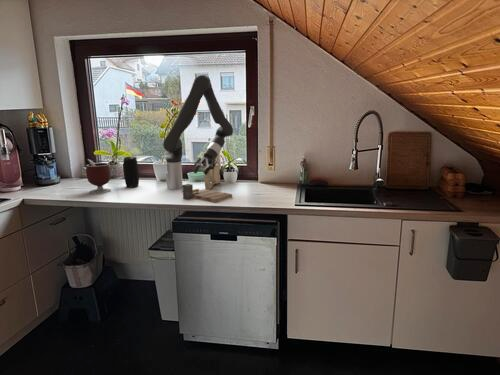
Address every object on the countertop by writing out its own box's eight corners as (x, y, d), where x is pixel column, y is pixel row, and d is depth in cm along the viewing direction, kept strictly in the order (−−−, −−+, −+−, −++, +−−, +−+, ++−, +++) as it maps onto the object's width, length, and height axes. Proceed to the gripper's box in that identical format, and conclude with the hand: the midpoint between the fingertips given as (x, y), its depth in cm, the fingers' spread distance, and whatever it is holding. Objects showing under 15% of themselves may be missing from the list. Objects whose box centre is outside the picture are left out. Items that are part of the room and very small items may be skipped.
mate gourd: (117, 190, 226) (114, 159, 222) (98, 195, 214) (95, 162, 210) (100, 188, 233) (97, 157, 229) (81, 192, 222) (77, 160, 217)
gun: (209, 190, 224) (209, 166, 222) (204, 189, 225) (203, 166, 223) (220, 185, 248) (220, 163, 246) (215, 185, 249) (215, 163, 247)
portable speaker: (125, 185, 240) (123, 156, 236) (140, 184, 242) (138, 156, 238) (124, 188, 232) (121, 158, 228) (139, 187, 234) (137, 157, 230)
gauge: (183, 198, 203) (182, 184, 202) (196, 195, 211) (195, 182, 209) (187, 199, 201) (187, 185, 199) (200, 196, 208) (200, 182, 207)
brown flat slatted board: (187, 196, 207) (187, 193, 207) (205, 192, 218) (205, 189, 217) (215, 202, 194) (215, 199, 193) (232, 197, 204) (232, 194, 204)
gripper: (200, 147, 216) (187, 168, 210) (218, 148, 207) (204, 170, 201) (207, 154, 221) (194, 175, 215) (224, 156, 213) (211, 178, 206)
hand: (199, 173), depth 208 cm, fingers open, 8 cm apart
